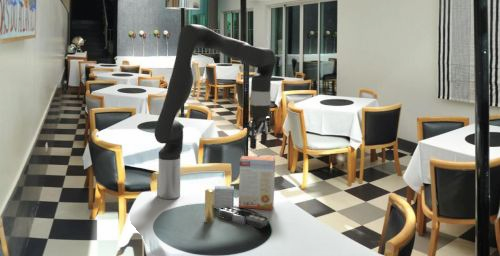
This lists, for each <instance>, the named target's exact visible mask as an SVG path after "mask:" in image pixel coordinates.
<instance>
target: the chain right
mask: <svg viewBox="0 0 500 256" xmlns="http://www.w3.org/2000/svg"><path fill="white" fill-rule="evenodd" d="M245 225H248V226H250V227H252V228H253V227H254V228H257V229H260V230H262V229H263V228H265V227H267V226H268V225H269V217H268V216H265V215H262V214H258V213H251V215H249V217H248V216H246V218H245Z"/></svg>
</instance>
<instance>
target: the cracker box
mask: <svg viewBox="0 0 500 256" xmlns="http://www.w3.org/2000/svg"><path fill="white" fill-rule="evenodd" d="M275 168H276V157H270V156H269V157H266V156H265V157H264V156H252V155H251V156H250V155H249V156H247V155H241V157H240V159H239V176H238V177H239V178H238V179H239V180H238V181H239V182H238V183H239V185H238V186H239V187H238V208H239V209H240V208H241V209H243V208H244V209H255V210H258V209H259V210H270V211H272V210H273V208H274V202H275V201H274V200H275V199H274V198H275V174H276V173H275V172H276V171H275V170H276V169H275Z"/></svg>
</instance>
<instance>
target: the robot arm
mask: <svg viewBox="0 0 500 256" xmlns="http://www.w3.org/2000/svg"><path fill="white" fill-rule="evenodd" d="M178 36H179V37H178V43H177V49H176V55H175V60H174V64H173V66H172V67H173V68H172V72H171V76H170V79H169V83H168V87H167V90H166V93H165V94H166V95H165V97H164V102H163V105H162V108H161V111H160V113H159V116H158V118H157V122H156V124H155V128H154V132H153V133H154V137H155V140H156V142H158V143H159V144H164V145H163V147H162V148H161V149H160V150H159V151H158V173H157V174H156V196H158V197H159V198H160V199H164V200H173V199H179V198H180V197H181V154H182V153H183V145H184V141H183V140H184V129H183V126H182V124H181V122H180V121H179V120H177V119H176V117H177V115H178V112H179V111H180V110H181V109H182V108H183V106H184V105H185V104H186V103H187V101H188V99H189V98H190V96H191V91H192V88H193V84H194V76H193V71H192V59H193V55H194V51H195V49H197V50H198V49H210V50H215V51H218V52H219V53H221V54H223V55H224V56H226V57H228V58H230V59H233V60H236V61H241V62H243V63H244V64H246V65H248V66H250V67H253V68H256V73H255V74H253V76H252V77H251V87H250V96H249V116H250V117H252V120H248V121H247V125H246V138H249V149H251V150H255V149H257V137H258V135H260V144H261V145H265V146H266V145H267V144H268V134H269V133H271V127H272V126H271V124H272V123H271V121H272V120H271V119H272V118H271V101H272V97H271V86H272V84H271V83H272V81H271V80H272V77H273V74H274V70H275V66H276V56H275V55H276V54H275V52H274V51H273V50H272V49H271V48H268V47H256V46H253V45H251V44H250V43H248V42H246V41H242V40H239V39H235V38H232V37H230V36H225V35H222V34H220V33H218V32H215V31H214V30H212V29H210V28H208V27H206V26H204V25H201V24H193V23H188V24H185V25H184V26H183V27H182V29H181V30H180V32H179V35H178Z"/></svg>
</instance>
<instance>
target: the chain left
mask: <svg viewBox="0 0 500 256" xmlns="http://www.w3.org/2000/svg"><path fill="white" fill-rule="evenodd" d="M241 210H242V209H240V208H237V207H236V208H235V207H233V208H232V207H228V206H225V208H223V209H218V217H219V216H221V217H224V218H223V219H225V218H227V219H226V220H228V219H229V221H231V222H233V214H237V215H240V216H241ZM221 217H220V218H221Z"/></svg>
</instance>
